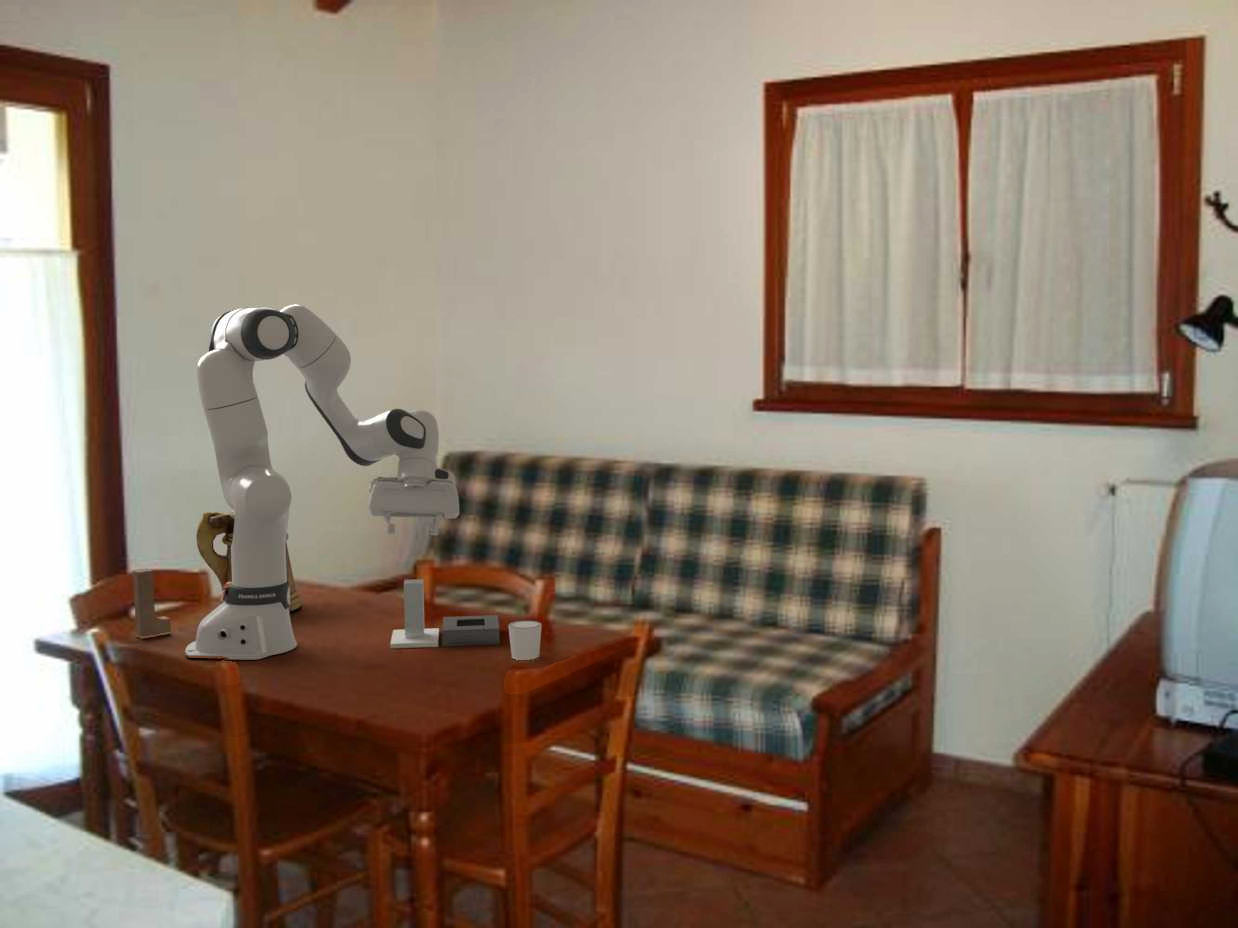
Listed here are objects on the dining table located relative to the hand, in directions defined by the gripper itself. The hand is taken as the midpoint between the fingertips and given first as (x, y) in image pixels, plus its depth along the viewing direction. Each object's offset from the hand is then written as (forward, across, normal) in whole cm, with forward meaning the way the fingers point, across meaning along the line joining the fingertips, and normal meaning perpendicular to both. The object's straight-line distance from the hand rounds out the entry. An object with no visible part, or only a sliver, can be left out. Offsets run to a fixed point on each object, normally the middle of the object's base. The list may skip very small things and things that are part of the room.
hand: (412, 533), depth 275 cm
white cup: (+32, +26, -11) cm, 42 cm away
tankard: (+9, -40, +30) cm, 50 cm away
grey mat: (+24, +2, +3) cm, 24 cm away
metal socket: (+23, +14, +3) cm, 27 cm away
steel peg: (+23, +2, +2) cm, 23 cm away
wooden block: (+21, -56, +12) cm, 61 cm away
